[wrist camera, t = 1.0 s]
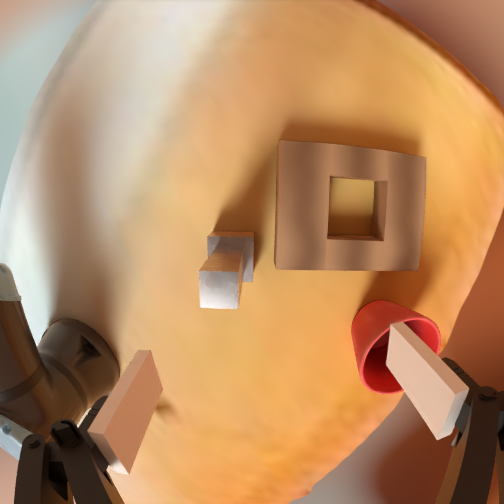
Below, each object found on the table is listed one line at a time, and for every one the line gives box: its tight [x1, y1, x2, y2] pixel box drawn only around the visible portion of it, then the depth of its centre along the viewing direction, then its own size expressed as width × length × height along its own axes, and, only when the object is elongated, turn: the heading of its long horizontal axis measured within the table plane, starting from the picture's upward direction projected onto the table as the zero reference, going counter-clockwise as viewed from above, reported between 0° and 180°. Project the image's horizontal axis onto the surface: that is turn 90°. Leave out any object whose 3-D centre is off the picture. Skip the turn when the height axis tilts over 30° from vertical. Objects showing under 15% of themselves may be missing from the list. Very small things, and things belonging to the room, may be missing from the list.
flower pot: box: [351, 300, 441, 394], centre depth 33 cm, size 11×11×10 cm
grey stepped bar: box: [199, 231, 254, 309], centre depth 29 cm, size 5×5×14 cm
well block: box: [274, 140, 426, 271], centre depth 32 cm, size 18×14×4 cm
